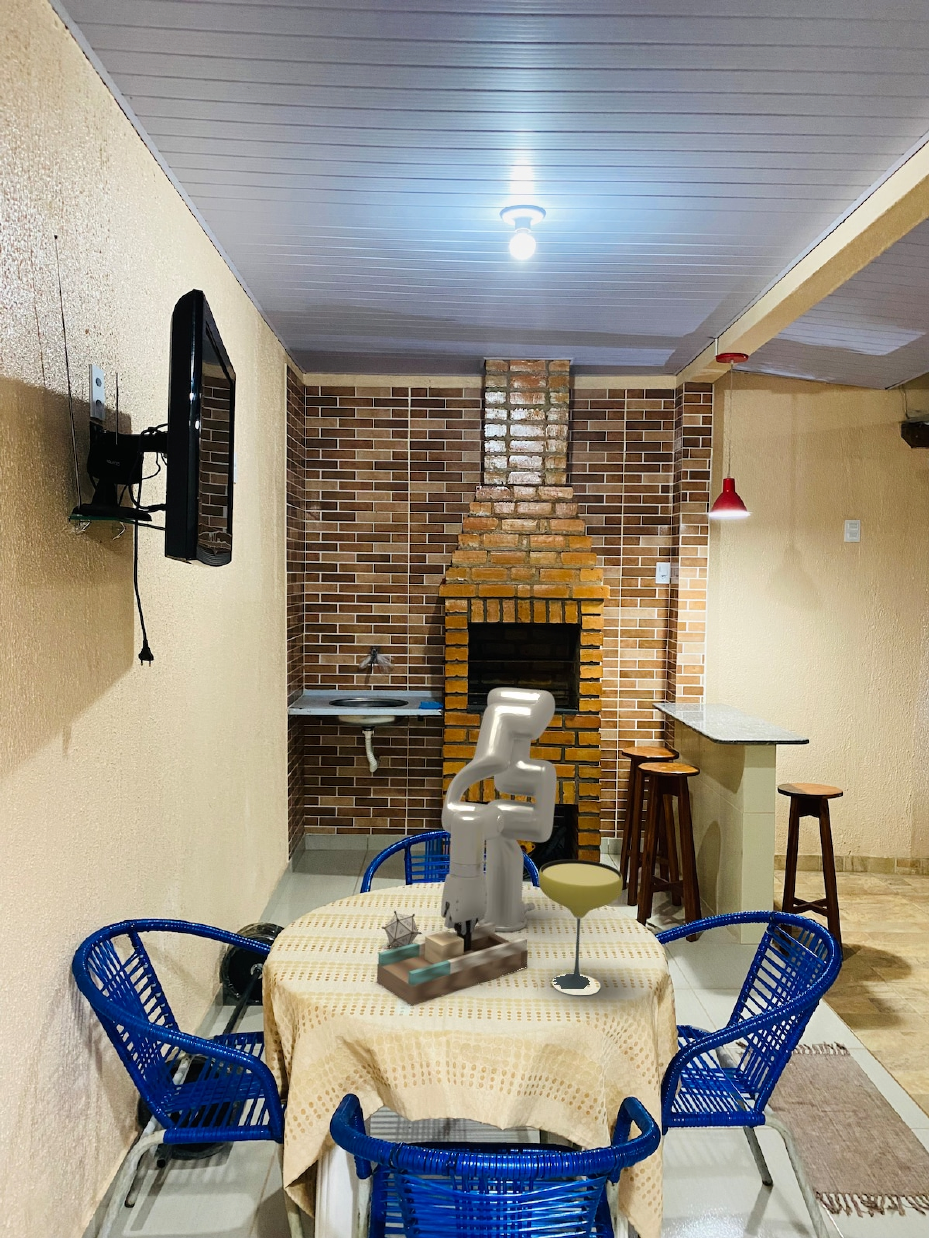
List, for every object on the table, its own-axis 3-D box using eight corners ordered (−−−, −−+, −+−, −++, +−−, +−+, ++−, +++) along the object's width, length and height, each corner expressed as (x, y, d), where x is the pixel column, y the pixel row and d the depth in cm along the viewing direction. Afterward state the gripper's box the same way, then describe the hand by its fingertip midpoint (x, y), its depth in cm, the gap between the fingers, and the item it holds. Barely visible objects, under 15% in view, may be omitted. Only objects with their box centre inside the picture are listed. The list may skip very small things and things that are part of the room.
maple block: (446, 952, 205) (446, 930, 205) (463, 961, 200) (463, 939, 200) (424, 958, 201) (425, 936, 201) (441, 968, 196) (442, 945, 196)
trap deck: (490, 948, 218) (491, 921, 217) (527, 967, 208) (528, 939, 207) (376, 982, 198) (377, 952, 197) (411, 1005, 188) (412, 974, 187)
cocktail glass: (532, 965, 209) (537, 857, 208) (612, 969, 209) (617, 860, 207) (536, 1002, 191) (541, 884, 190) (623, 1006, 191) (628, 888, 189)
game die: (407, 960, 218) (434, 926, 219) (394, 960, 211) (422, 925, 211) (382, 934, 222) (407, 901, 223) (368, 934, 214) (395, 899, 215)
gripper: (481, 858, 211) (478, 936, 212) (429, 869, 201) (426, 951, 202) (503, 866, 205) (500, 947, 206) (450, 878, 196) (447, 963, 196)
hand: (463, 949), depth 204 cm, fingers closed
